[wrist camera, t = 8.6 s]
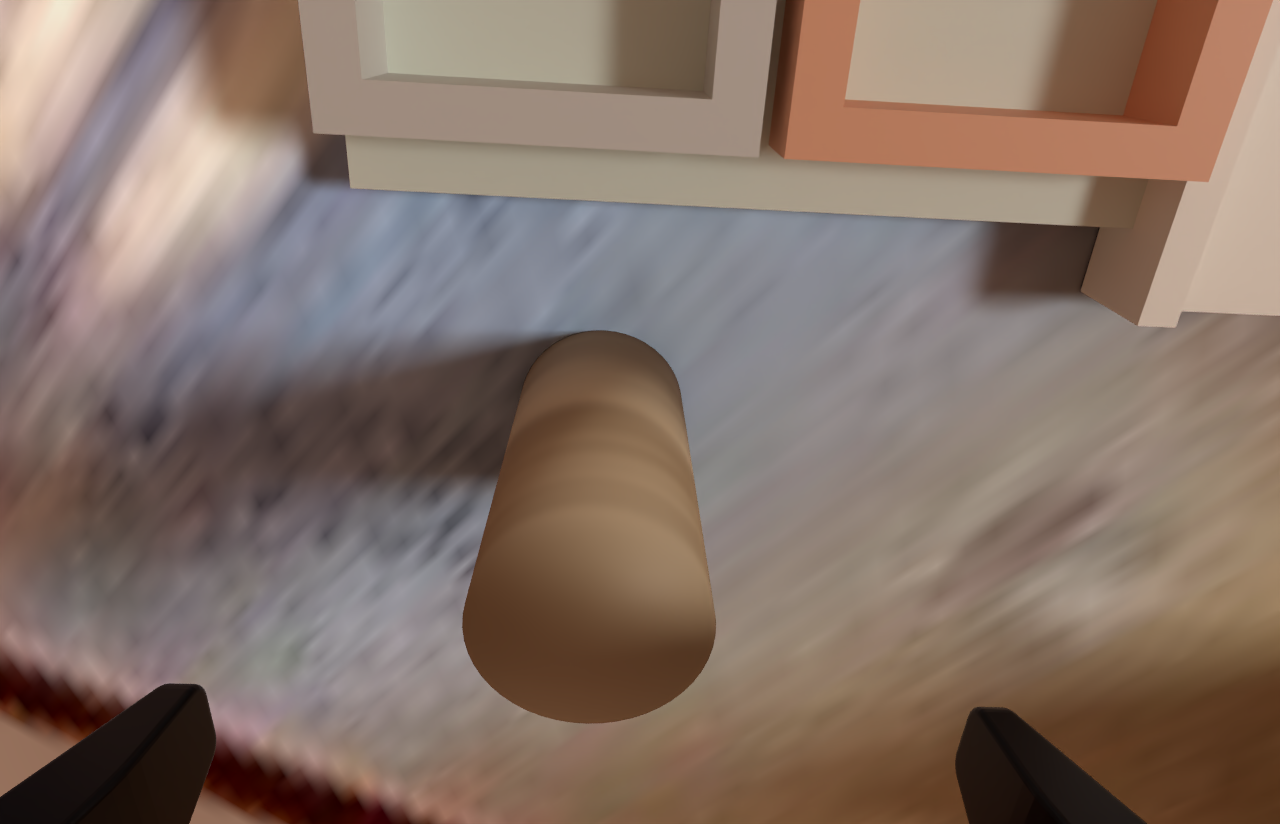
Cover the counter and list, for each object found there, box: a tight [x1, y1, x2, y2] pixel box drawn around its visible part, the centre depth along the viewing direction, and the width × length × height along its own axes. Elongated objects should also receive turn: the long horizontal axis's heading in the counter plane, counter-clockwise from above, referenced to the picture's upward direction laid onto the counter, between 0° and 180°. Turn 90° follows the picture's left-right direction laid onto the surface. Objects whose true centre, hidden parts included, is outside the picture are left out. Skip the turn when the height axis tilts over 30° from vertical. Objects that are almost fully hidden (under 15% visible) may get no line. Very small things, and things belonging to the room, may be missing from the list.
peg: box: [462, 331, 716, 723], centre depth 14 cm, size 3×3×7 cm
